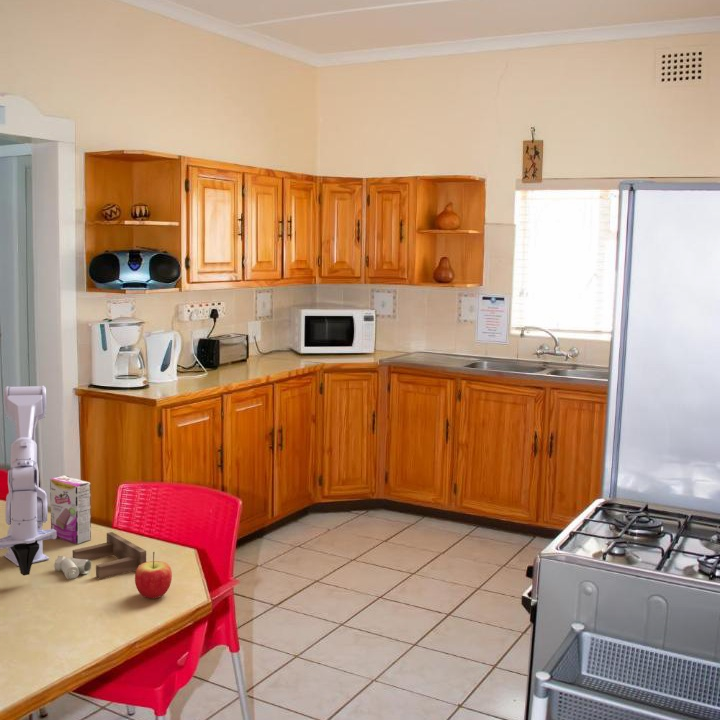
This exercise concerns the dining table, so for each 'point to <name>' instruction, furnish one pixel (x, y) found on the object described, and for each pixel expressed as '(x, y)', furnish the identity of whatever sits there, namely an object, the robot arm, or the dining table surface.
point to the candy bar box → (70, 509)
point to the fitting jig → (119, 548)
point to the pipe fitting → (72, 566)
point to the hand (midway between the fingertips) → (25, 573)
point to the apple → (153, 578)
